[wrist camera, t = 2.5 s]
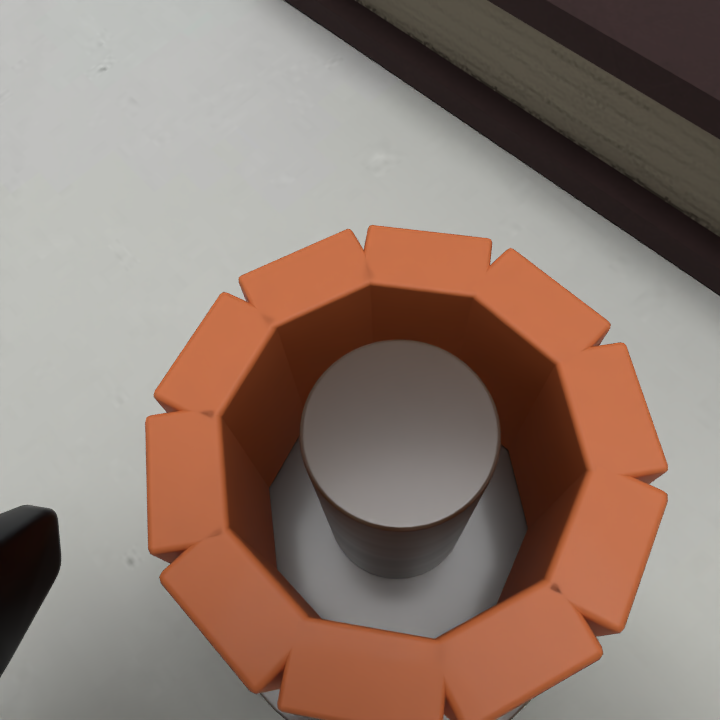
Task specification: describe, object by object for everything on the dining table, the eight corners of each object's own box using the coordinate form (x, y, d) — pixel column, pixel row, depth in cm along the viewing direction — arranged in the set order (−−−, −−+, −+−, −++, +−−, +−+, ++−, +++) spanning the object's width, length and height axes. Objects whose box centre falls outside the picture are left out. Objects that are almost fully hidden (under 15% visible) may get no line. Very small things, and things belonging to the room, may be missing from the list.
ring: (577, 745, 11) (676, 787, 7) (170, 670, 11) (65, 671, 8) (589, 370, 13) (665, 257, 10) (256, 326, 14) (209, 204, 10)
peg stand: (557, 790, 16) (847, 998, 6) (185, 717, 17) (-116, 792, 7) (572, 425, 19) (768, 168, 9) (265, 382, 20) (146, 105, 10)
